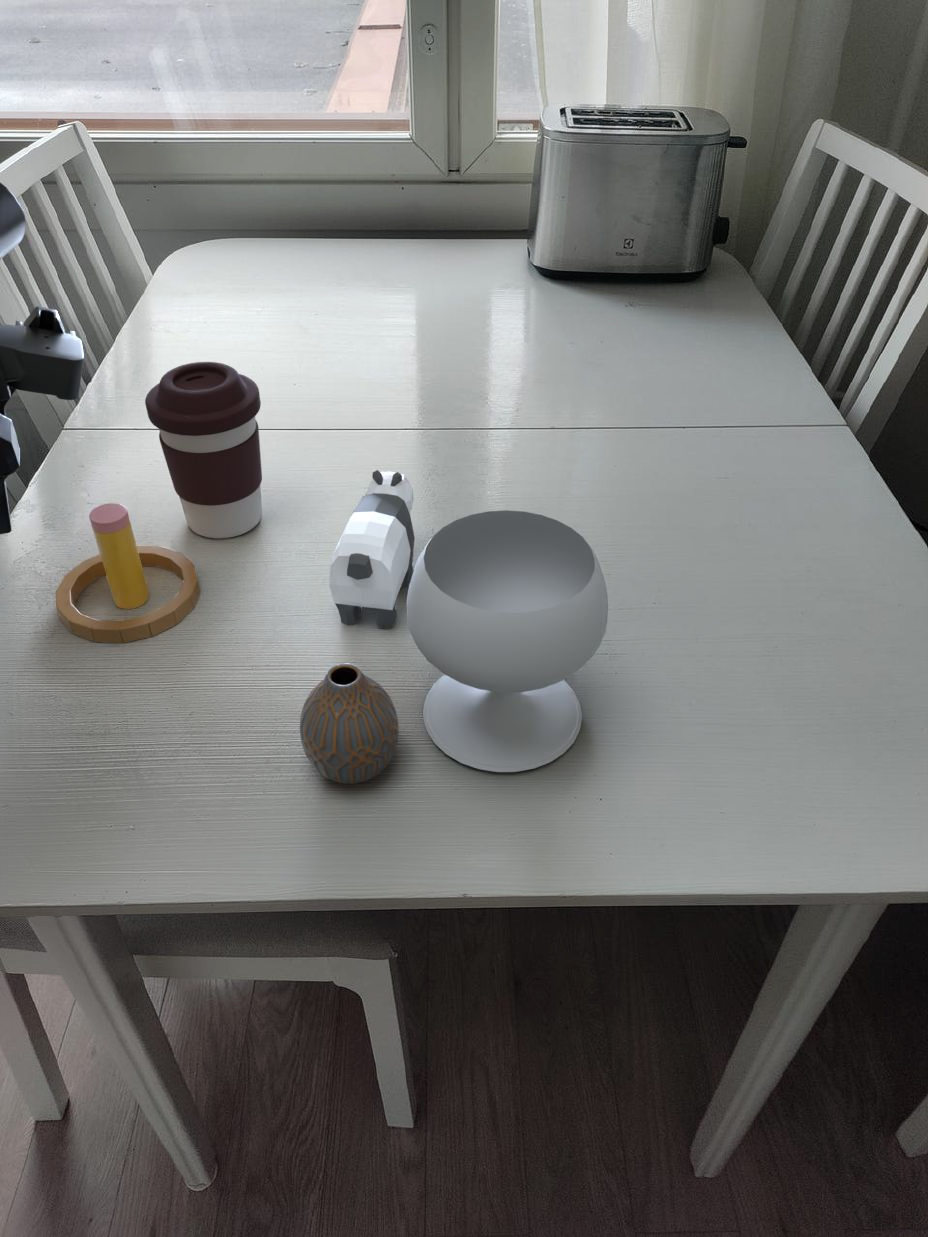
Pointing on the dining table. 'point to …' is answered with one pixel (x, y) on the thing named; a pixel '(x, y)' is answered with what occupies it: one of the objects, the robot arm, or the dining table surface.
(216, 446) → the coffee cup
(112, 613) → the dining table surface
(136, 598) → the pencil stub
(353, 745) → the vase
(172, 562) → the wooden ring
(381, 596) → the giant panda
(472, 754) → the chalice
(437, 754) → the dining table surface
